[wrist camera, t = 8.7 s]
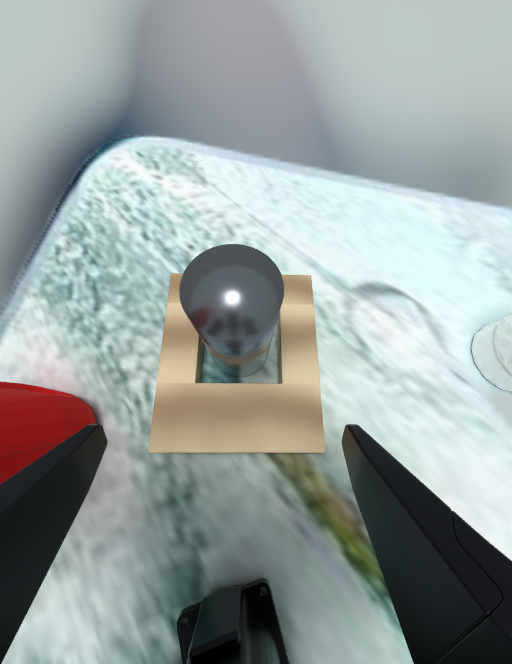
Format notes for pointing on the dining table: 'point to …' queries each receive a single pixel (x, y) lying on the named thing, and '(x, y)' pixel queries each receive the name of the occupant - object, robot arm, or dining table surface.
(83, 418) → the water bottle
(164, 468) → the dining table surface
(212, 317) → the pin
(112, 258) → the dining table surface
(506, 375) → the white cup
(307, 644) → the dining table surface
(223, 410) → the slot board
